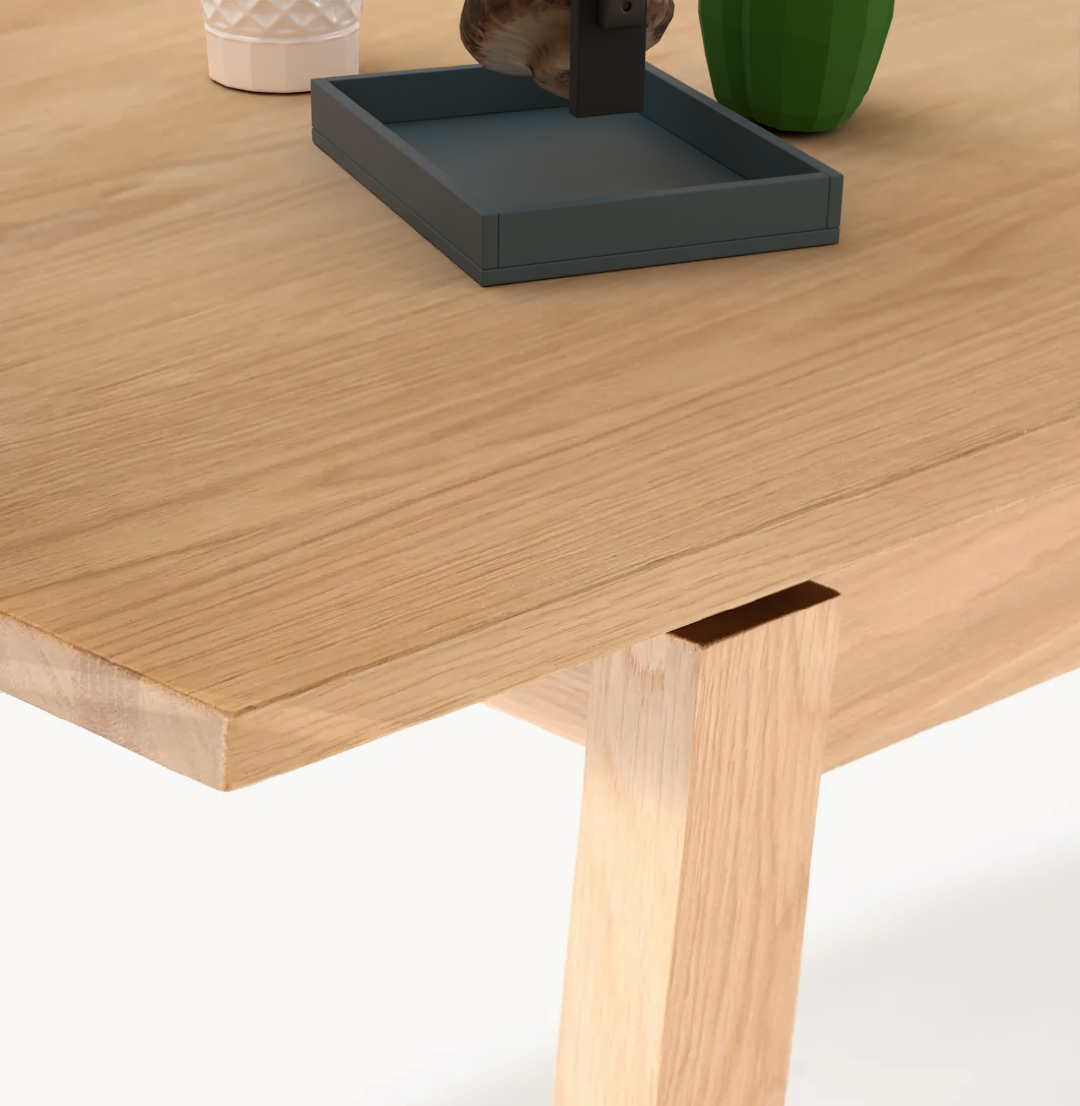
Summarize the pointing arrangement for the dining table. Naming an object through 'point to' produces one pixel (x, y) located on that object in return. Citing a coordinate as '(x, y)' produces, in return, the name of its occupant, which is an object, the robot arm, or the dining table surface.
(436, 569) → the dining table surface
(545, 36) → the mushroom
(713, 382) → the dining table surface
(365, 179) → the tray
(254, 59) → the white cup
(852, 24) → the bell pepper
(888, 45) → the dining table surface
